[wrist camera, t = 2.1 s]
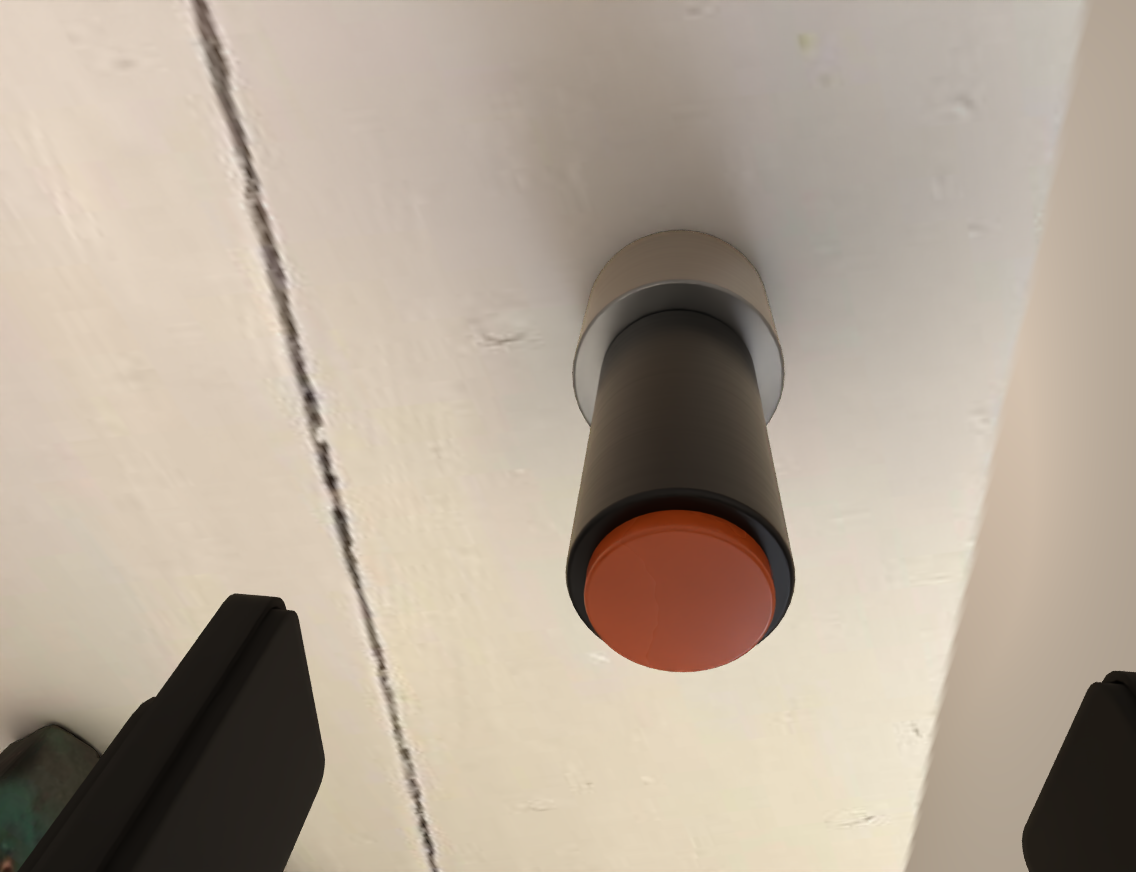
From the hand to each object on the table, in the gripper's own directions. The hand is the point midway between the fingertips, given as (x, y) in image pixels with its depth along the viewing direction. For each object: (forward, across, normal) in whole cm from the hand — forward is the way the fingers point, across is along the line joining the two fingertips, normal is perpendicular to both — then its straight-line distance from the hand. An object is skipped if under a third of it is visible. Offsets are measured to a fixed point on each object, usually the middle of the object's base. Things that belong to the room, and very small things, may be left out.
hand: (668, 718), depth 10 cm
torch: (+12, 0, -1) cm, 12 cm away
